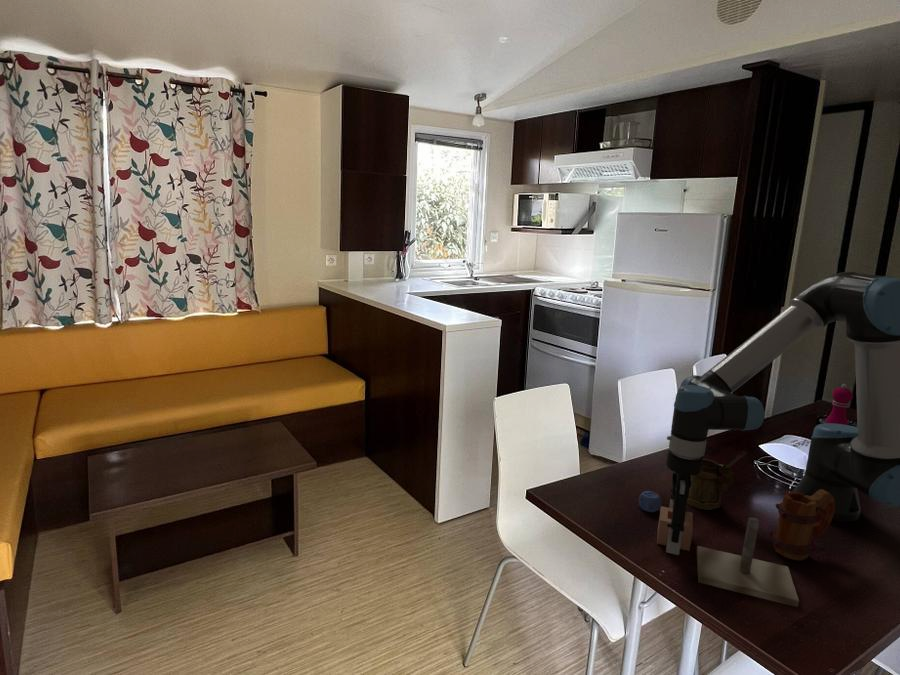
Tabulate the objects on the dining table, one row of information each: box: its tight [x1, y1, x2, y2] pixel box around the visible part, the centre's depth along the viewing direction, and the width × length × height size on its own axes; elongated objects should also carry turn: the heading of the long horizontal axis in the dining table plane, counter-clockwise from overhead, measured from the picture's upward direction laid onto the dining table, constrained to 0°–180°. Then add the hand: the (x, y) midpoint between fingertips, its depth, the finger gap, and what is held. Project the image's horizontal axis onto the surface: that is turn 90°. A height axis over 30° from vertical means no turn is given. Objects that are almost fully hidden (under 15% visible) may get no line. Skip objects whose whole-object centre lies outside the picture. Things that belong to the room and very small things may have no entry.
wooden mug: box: [687, 450, 748, 511], centre depth 147 cm, size 9×14×18 cm, turn 41°
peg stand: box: [696, 516, 800, 608], centre depth 118 cm, size 18×12×14 cm, turn 69°
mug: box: [769, 489, 835, 561], centre depth 128 cm, size 15×8×15 cm, turn 106°
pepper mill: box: [824, 383, 854, 425], centre depth 201 cm, size 7×7×20 cm
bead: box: [656, 506, 694, 552], centre depth 132 cm, size 7×7×6 cm
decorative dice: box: [638, 490, 662, 513], centre depth 146 cm, size 4×4×4 cm
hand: (672, 538), depth 132 cm, fingers open, 12 cm apart
